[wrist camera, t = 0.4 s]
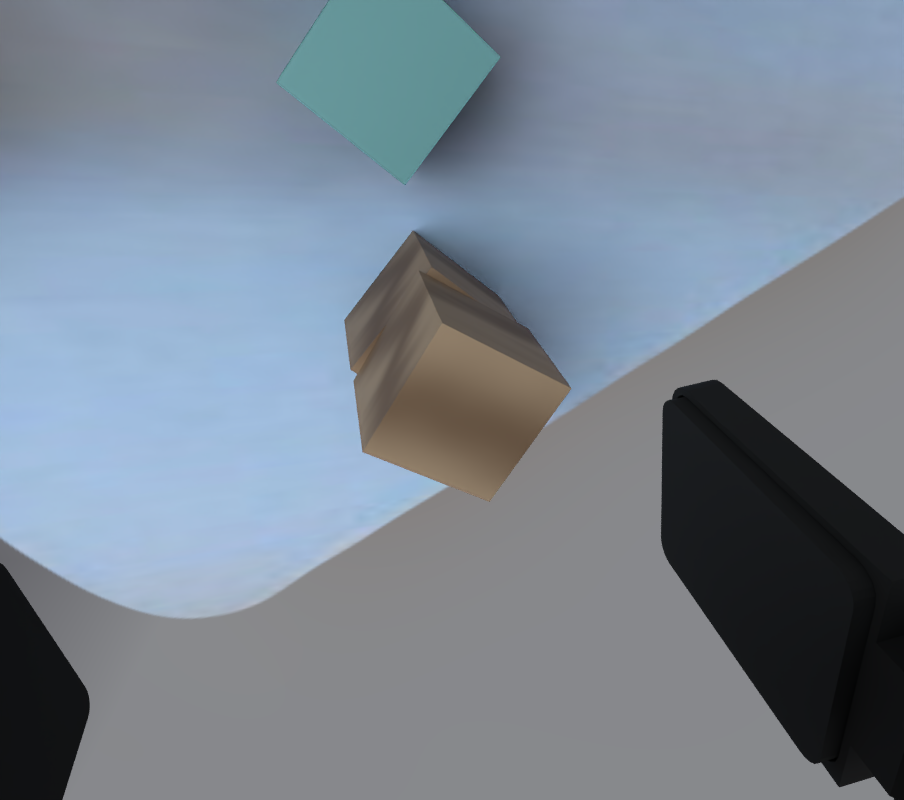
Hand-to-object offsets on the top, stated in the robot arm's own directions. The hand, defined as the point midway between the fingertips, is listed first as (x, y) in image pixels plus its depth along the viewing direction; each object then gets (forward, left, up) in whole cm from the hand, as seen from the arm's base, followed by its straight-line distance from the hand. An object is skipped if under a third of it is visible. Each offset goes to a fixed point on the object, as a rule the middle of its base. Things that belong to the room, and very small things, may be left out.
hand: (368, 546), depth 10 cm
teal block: (-6, -1, -26) cm, 27 cm away
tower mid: (+2, +8, -20) cm, 22 cm away
